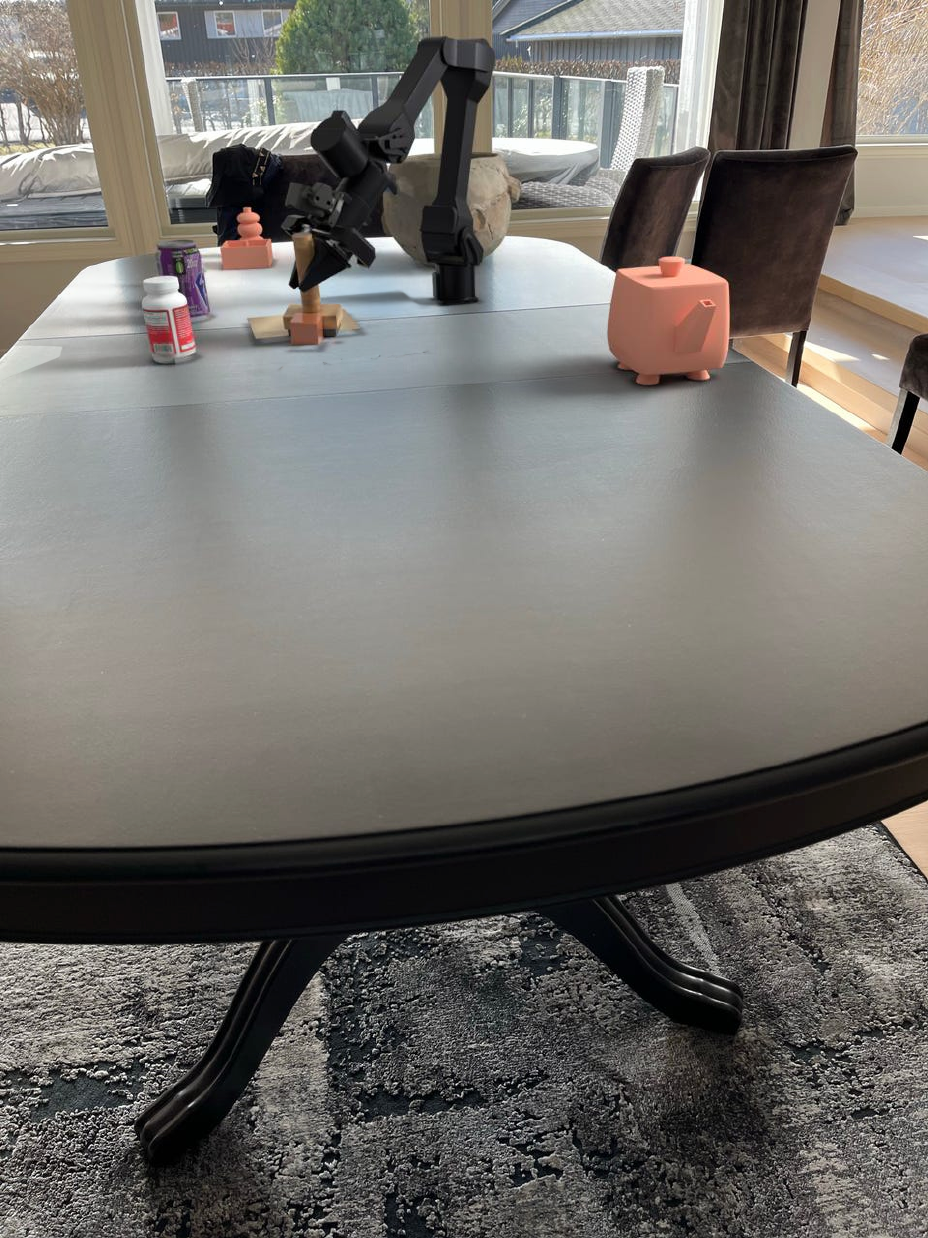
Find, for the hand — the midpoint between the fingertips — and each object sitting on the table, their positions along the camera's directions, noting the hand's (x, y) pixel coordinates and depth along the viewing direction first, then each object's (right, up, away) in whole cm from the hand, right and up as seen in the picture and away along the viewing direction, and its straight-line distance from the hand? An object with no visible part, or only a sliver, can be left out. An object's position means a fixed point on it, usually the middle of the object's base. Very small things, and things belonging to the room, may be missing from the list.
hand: (295, 288), depth 137 cm
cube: (+1, -8, +2) cm, 8 cm away
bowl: (+21, +24, +56) cm, 64 cm away
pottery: (-21, +29, +65) cm, 74 cm away
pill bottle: (-17, -11, -1) cm, 20 cm away
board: (-1, -2, +12) cm, 12 cm away
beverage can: (-21, +2, +20) cm, 30 cm away
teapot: (+51, -16, -14) cm, 55 cm away
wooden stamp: (+2, -5, +5) cm, 7 cm away
